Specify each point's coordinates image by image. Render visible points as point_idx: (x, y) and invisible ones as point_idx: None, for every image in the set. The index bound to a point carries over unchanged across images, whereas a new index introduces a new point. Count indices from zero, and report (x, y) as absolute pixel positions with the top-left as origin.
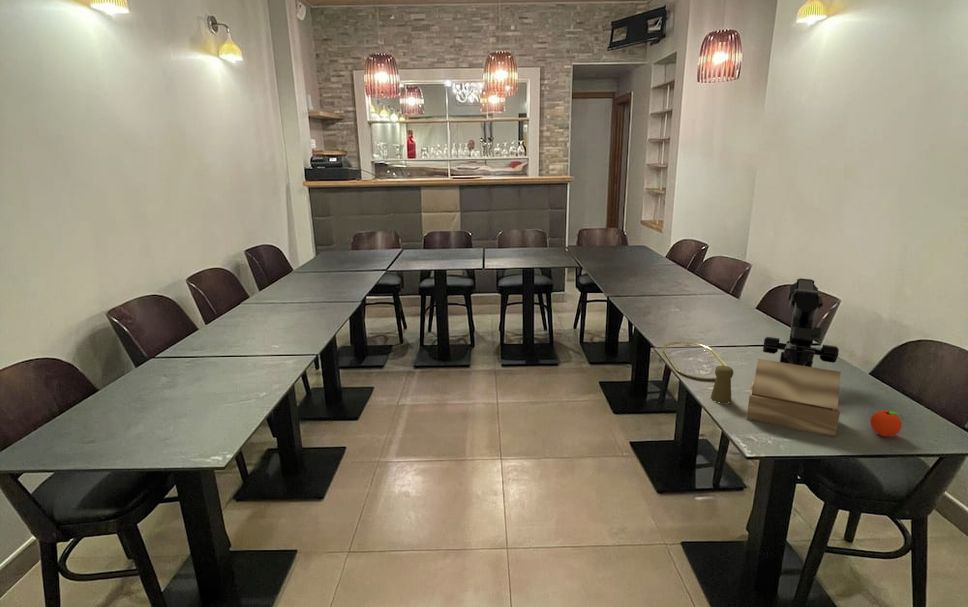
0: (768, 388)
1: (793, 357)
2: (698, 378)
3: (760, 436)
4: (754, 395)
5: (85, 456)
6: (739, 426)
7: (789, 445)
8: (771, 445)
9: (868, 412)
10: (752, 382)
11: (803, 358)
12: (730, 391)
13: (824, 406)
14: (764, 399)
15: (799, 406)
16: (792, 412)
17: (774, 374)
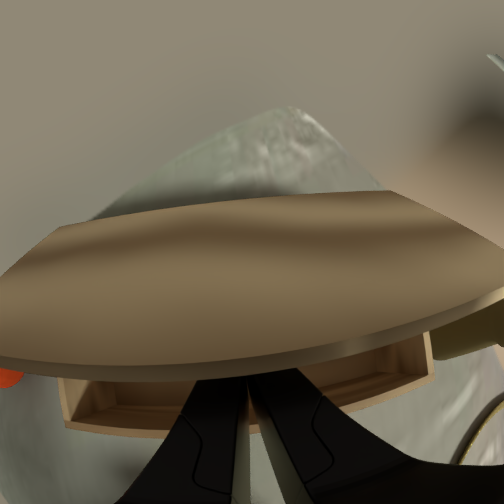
0: (355, 201)
1: (358, 463)
2: (498, 404)
3: (289, 163)
4: (383, 374)
5: (498, 58)
6: (349, 187)
7: (216, 157)
8: (255, 138)
9: (57, 477)
10: (430, 349)
11: (181, 501)
12: (447, 325)
13: (98, 219)
14: None
15: None
16: None
17: (389, 237)
